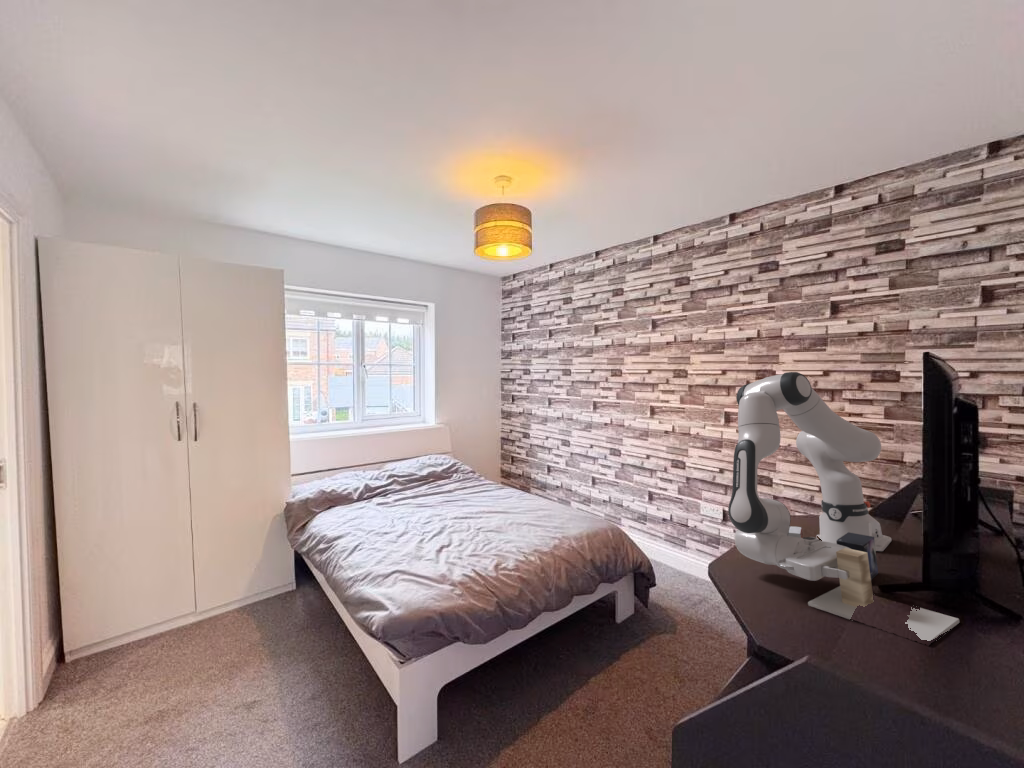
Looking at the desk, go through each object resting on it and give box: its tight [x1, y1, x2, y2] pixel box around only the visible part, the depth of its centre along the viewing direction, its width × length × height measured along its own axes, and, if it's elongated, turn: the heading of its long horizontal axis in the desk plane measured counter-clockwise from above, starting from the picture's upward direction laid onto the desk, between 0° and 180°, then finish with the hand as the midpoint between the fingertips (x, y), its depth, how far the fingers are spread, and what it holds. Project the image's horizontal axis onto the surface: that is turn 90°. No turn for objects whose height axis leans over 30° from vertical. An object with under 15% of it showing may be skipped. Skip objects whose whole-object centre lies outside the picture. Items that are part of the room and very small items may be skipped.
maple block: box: [836, 548, 874, 607], centre depth 101 cm, size 4×4×12 cm
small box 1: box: [788, 525, 804, 538], centre depth 128 cm, size 8×6×10 cm
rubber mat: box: [807, 585, 960, 641], centre depth 97 cm, size 16×22×1 cm
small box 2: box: [836, 532, 879, 581], centre depth 117 cm, size 11×6×10 cm, turn 127°
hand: (858, 570), depth 100 cm, fingers open, 8 cm apart
